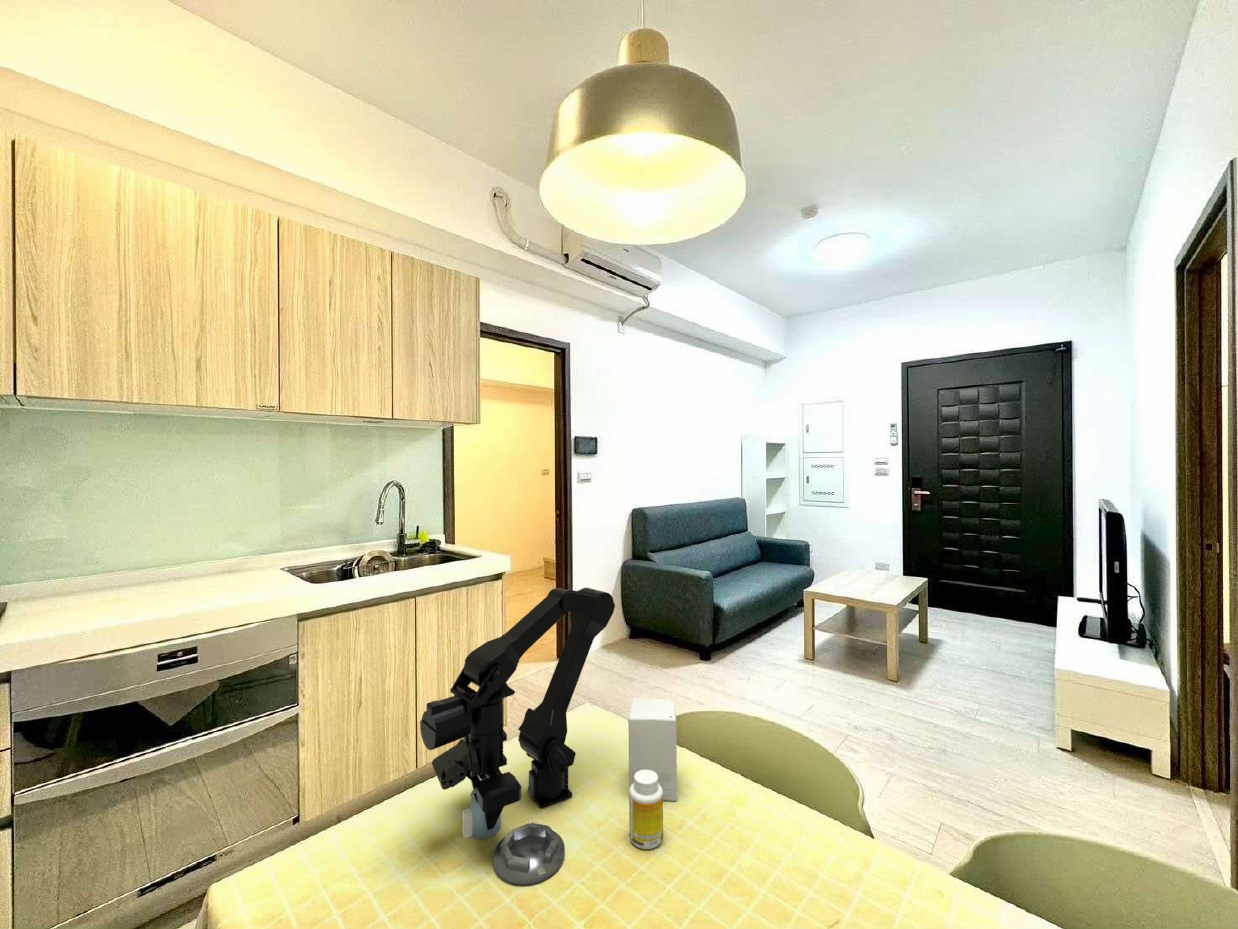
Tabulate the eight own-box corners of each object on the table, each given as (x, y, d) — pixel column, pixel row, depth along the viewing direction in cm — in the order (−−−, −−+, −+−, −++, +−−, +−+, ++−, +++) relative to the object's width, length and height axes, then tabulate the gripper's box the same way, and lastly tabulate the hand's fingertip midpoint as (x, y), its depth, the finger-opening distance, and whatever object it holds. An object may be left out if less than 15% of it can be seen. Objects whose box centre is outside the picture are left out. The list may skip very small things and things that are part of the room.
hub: (548, 824, 87) (548, 810, 87) (576, 867, 78) (576, 851, 78) (484, 848, 81) (484, 833, 82) (506, 898, 72) (506, 880, 72)
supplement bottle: (668, 846, 82) (668, 782, 82) (636, 855, 80) (636, 789, 80) (654, 823, 87) (654, 763, 87) (624, 831, 85) (624, 770, 85)
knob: (495, 814, 90) (495, 779, 90) (504, 832, 85) (504, 794, 85) (459, 827, 86) (459, 790, 86) (467, 846, 82) (467, 807, 82)
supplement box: (676, 773, 102) (675, 698, 102) (677, 802, 93) (677, 720, 93) (631, 771, 103) (630, 696, 103) (627, 799, 94) (627, 718, 94)
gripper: (425, 715, 90) (425, 804, 90) (449, 768, 74) (449, 876, 74) (487, 701, 96) (487, 784, 96) (522, 747, 80) (522, 847, 80)
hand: (485, 819), depth 86 cm, fingers closed on knob, 5 cm apart
